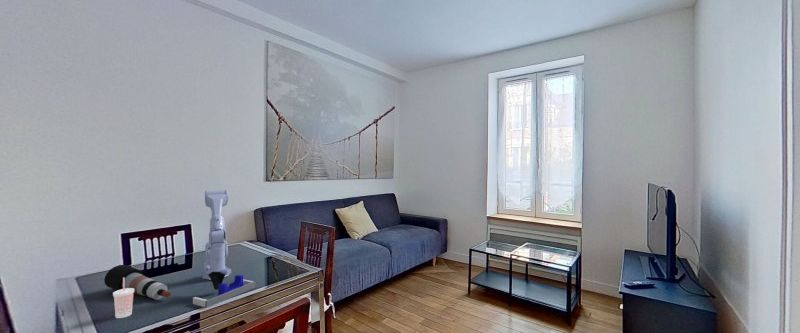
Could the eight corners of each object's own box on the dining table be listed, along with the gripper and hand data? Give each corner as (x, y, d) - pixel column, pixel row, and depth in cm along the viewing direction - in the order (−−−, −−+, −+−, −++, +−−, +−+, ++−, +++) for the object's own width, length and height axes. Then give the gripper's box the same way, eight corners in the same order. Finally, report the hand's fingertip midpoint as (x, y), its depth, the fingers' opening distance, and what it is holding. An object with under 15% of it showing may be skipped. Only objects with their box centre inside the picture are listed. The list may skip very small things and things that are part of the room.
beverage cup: (138, 312, 119) (138, 275, 119) (120, 320, 113) (120, 281, 113) (126, 310, 120) (126, 274, 120) (108, 318, 114) (108, 279, 114)
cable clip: (234, 287, 143) (234, 274, 143) (243, 288, 143) (243, 275, 143) (215, 298, 131) (215, 284, 131) (224, 299, 131) (224, 285, 131)
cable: (161, 313, 128) (150, 296, 123) (111, 292, 140) (99, 276, 135) (184, 293, 136) (175, 277, 131) (135, 276, 148) (124, 260, 143)
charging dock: (192, 304, 126) (192, 297, 126) (242, 284, 147) (242, 279, 147) (206, 307, 123) (206, 301, 123) (255, 287, 144) (255, 281, 144)
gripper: (197, 258, 136) (197, 289, 136) (220, 262, 131) (220, 294, 131) (213, 254, 143) (213, 283, 143) (235, 257, 137) (235, 288, 137)
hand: (217, 288), depth 137 cm, fingers closed
